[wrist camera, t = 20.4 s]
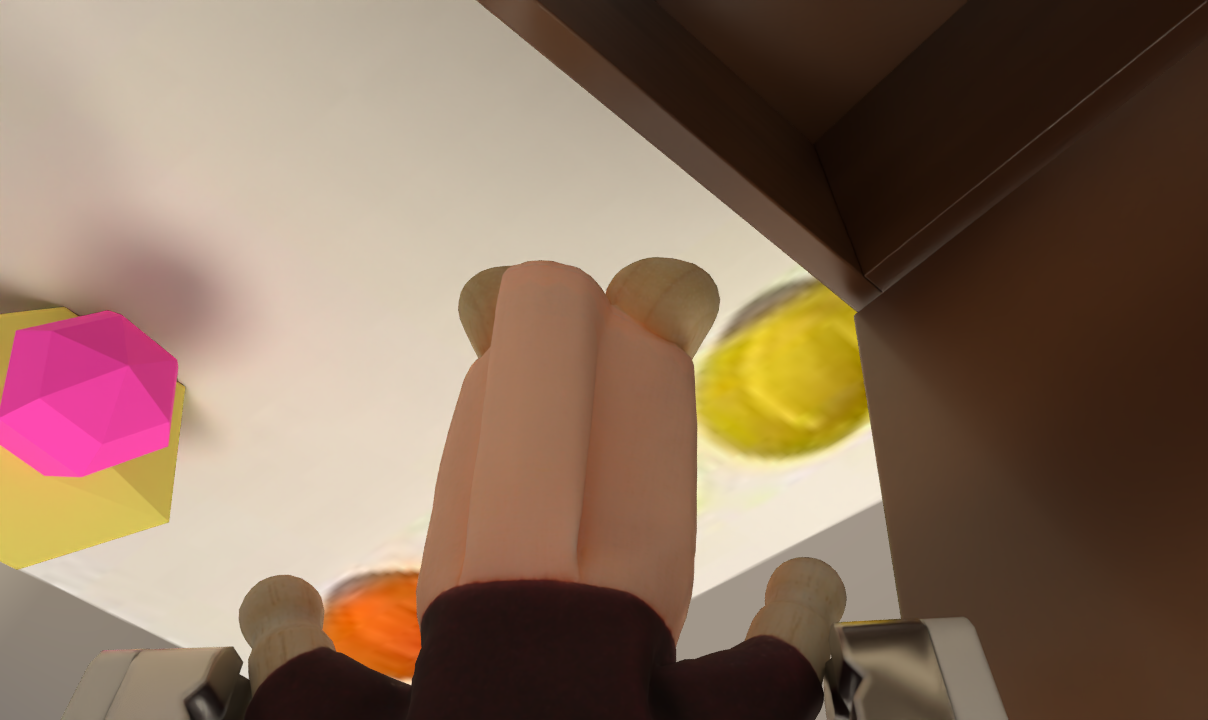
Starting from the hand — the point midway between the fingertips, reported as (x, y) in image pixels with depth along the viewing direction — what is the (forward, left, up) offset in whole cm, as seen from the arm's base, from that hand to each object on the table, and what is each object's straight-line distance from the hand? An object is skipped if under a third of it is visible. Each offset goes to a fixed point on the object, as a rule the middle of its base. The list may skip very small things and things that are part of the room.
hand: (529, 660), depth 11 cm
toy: (-7, -25, -23) cm, 35 cm away
